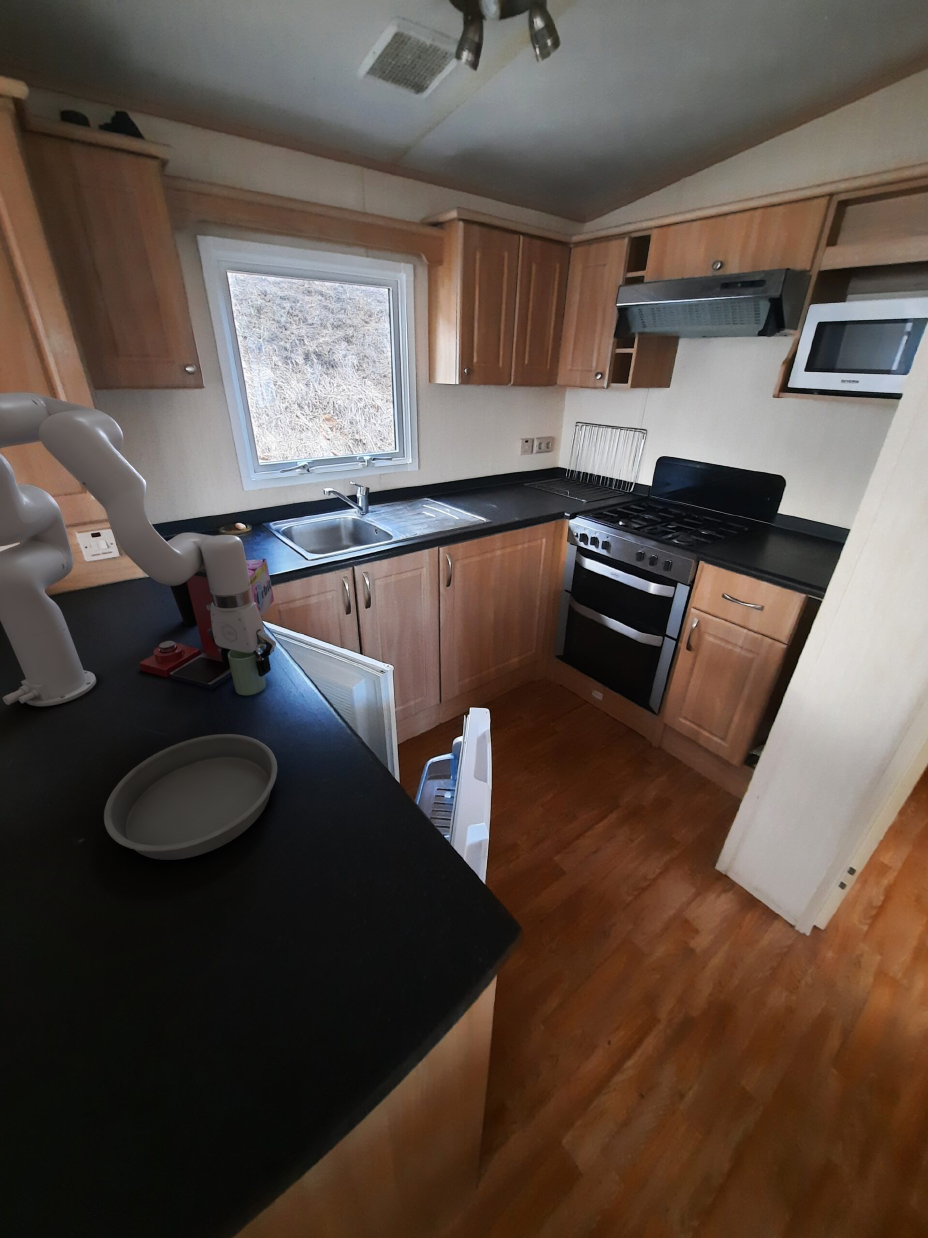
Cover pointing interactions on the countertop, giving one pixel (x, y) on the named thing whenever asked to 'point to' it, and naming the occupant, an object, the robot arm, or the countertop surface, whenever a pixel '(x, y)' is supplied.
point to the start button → (167, 647)
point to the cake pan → (192, 796)
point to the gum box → (260, 584)
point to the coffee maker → (203, 640)
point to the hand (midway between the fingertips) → (247, 669)
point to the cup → (245, 673)
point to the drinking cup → (184, 603)
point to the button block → (169, 660)
